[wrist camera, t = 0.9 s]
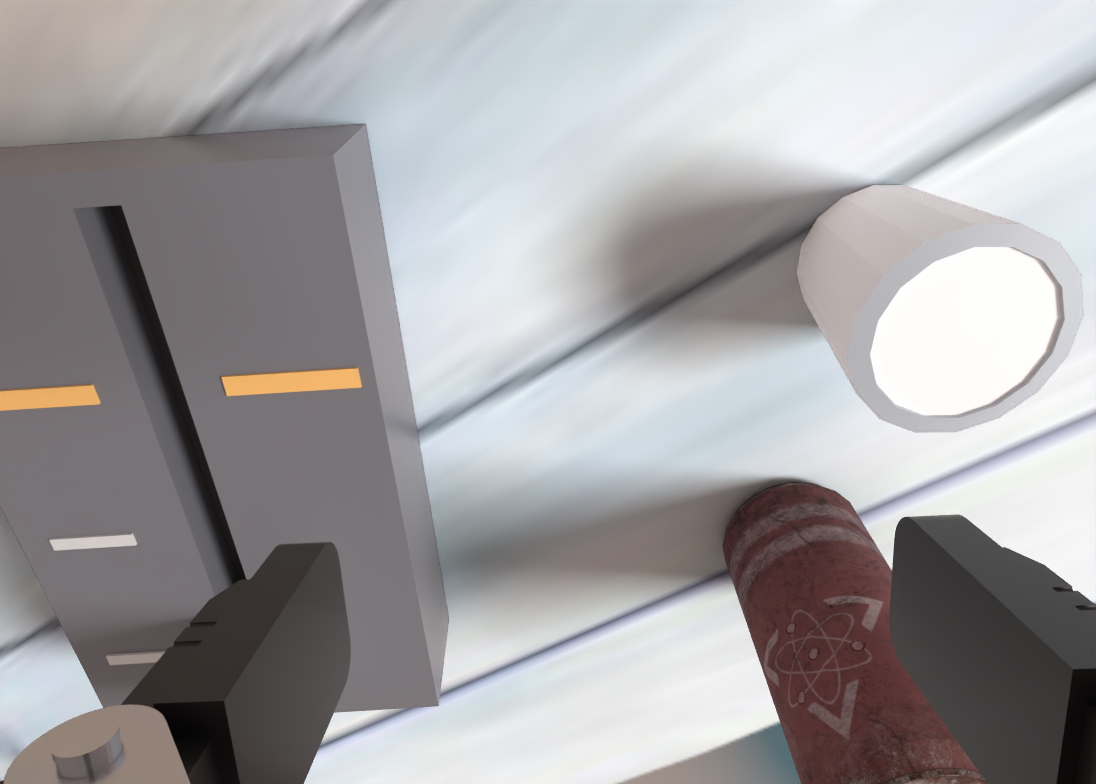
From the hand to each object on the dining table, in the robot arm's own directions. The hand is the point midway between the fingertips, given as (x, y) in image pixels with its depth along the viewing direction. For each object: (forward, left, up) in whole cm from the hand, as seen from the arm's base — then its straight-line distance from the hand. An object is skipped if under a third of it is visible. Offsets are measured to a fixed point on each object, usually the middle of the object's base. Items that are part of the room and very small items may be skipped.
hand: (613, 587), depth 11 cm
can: (+15, +10, -19) cm, 26 cm away
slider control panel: (+8, -13, -19) cm, 24 cm away
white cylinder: (+2, +12, -19) cm, 22 cm away
